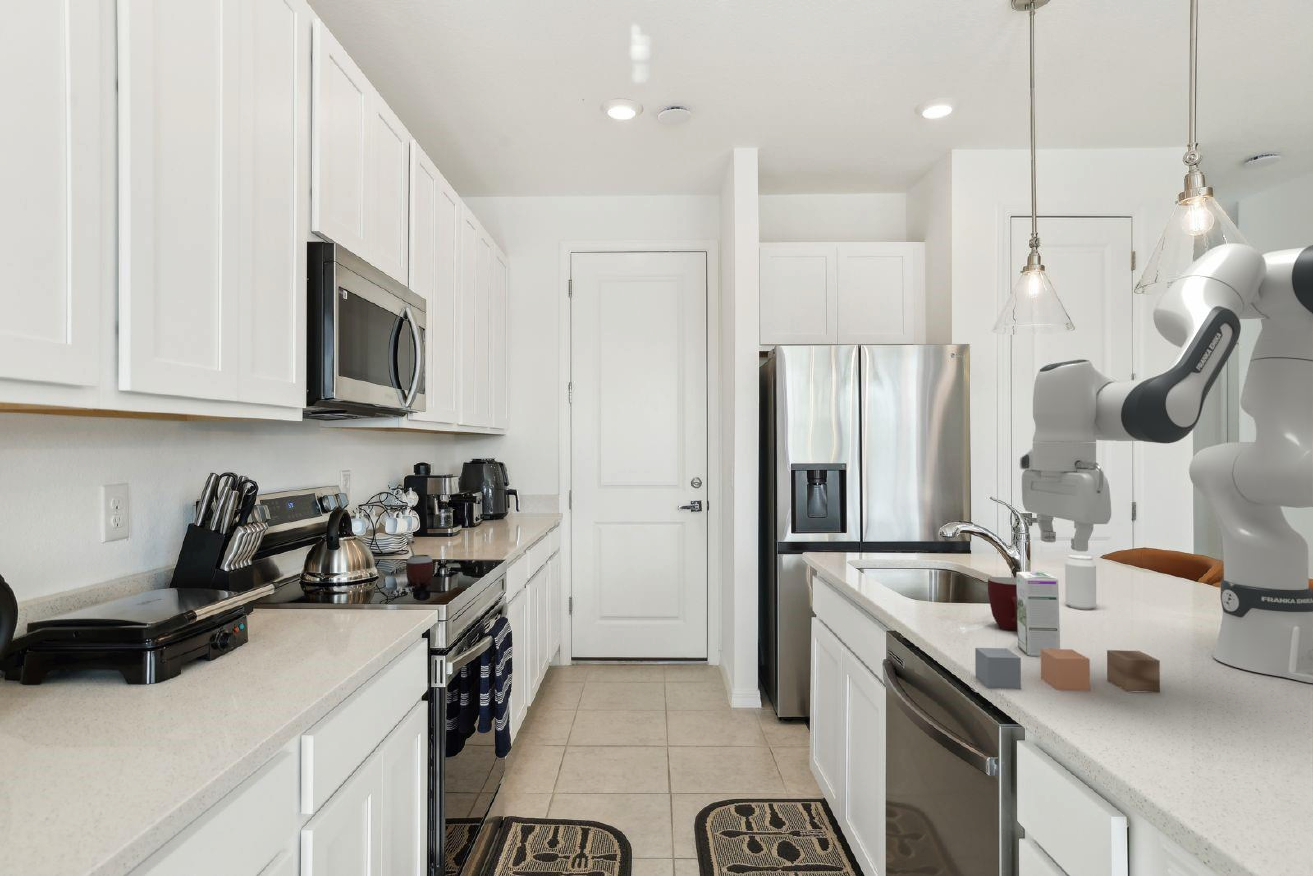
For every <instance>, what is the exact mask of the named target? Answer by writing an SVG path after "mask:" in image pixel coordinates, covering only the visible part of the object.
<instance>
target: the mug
mask: <svg viewBox="0 0 1313 876" xmlns="http://www.w3.org/2000/svg"><path fill="white" fill-rule="evenodd" d="M987 594H988V599H989V600H988V601H989V605H990V609H991V614H992V617H993V619H994V621H995V623H996V625H997V626H998V628H999V629H1001V630H1004V631H1008V632H1009V631H1012V632H1018V627H1017V577H1010V576H1009V577H1008V576H993V577H989V578H987Z"/></svg>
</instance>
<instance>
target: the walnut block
mask: <svg viewBox="0 0 1313 876" xmlns="http://www.w3.org/2000/svg"><path fill="white" fill-rule="evenodd" d="M1106 667H1107V668H1106V671H1107V672H1106V673H1107V675H1106V677H1107V681H1108V682H1109V683H1111V682H1112V683H1111V684H1112V685H1114V686H1117V687H1118V688H1120V687H1121V688H1122V689H1121V688H1120V689H1121V690H1123V691H1125V692H1126V691H1153V692H1152V693H1160V692H1161V690H1160V689H1161V687H1160V686H1161V684H1160V683H1161V682H1160V681H1161V680H1160V679H1161V677H1160V676H1161V675H1160V673H1161V670H1160V669H1161V668H1160V667H1161V665H1160V660H1159V659H1157V658H1155V657H1153V656H1150V654H1149V655H1148V654H1146V653H1145V652H1142V651H1141V650H1122V649H1121V650H1112V649H1111V650H1110V649H1109V650H1108V649H1107V650H1106Z"/></svg>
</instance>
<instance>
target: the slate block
mask: <svg viewBox="0 0 1313 876" xmlns="http://www.w3.org/2000/svg"><path fill="white" fill-rule="evenodd" d="M974 650H975V651H974V653H975V655H974V656H975V658H974V659H975V661H974V662H975V663H974V664H975V665H974V667H975V671H974V672H975V678H976V679H977V681H979V682H980V683H981V684H982V685H984V686H985V687H986V688H987V689H996V690H997V689H999V690H1000V689H1001V690H1002V689H1003V690H1022V687H1021V686H1022V681H1021V679H1022V678H1021V677H1022V671H1021V670H1022V669H1021V666H1022V664H1021V663H1022V662H1021V661H1022V660H1021V657H1020V656H1019V655H1017V654H1015V653H1014V652H1013V651H1011V650H1009V649H1008V648H1005V647H1002V648H1001V647H975V649H974Z"/></svg>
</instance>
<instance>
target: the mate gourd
mask: <svg viewBox="0 0 1313 876" xmlns="http://www.w3.org/2000/svg"><path fill="white" fill-rule="evenodd" d="M400 534H401V535H402V536H403V537H404V538H405V539H406V540H407V544H408V545H409V550H410V551H411V556H409V557H408V558H407V560H406V564H405V570H406V578H407V581H408V583H407V586H408V587H414V586H415V588H416V589H417V588H418V589H419V588H420V587H422V586H432V584H433V583H432V578H433V574H434V573H433V572H434V561H433V558H432V557H431V556H430V555H429V554H415V552H414V548H413V545H412V541H411V540H412V539H410V538H409V536H408V535H406V534H404V533H402V532H401V533H400Z"/></svg>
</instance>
